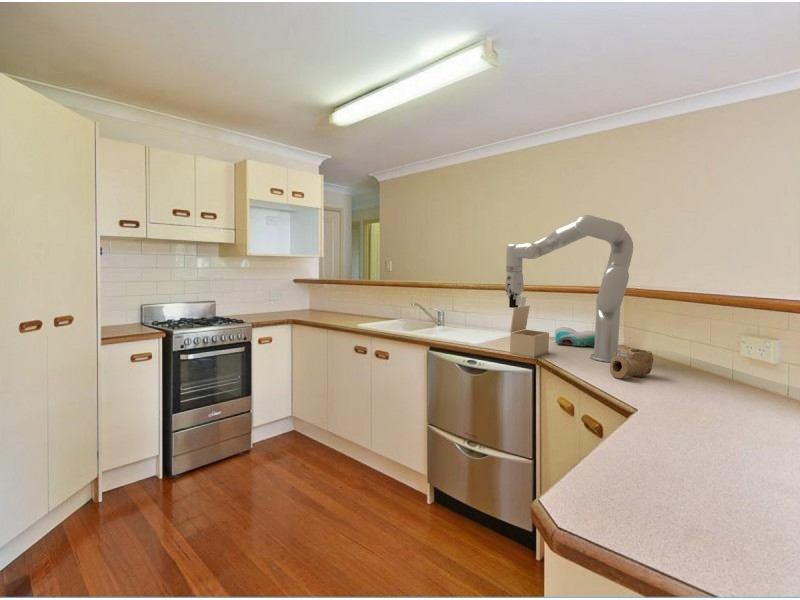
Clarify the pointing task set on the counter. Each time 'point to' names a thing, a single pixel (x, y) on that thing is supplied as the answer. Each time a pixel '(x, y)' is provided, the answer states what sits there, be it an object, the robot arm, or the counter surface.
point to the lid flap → (519, 315)
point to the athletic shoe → (574, 337)
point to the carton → (529, 343)
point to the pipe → (632, 364)
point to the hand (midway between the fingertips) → (513, 307)
